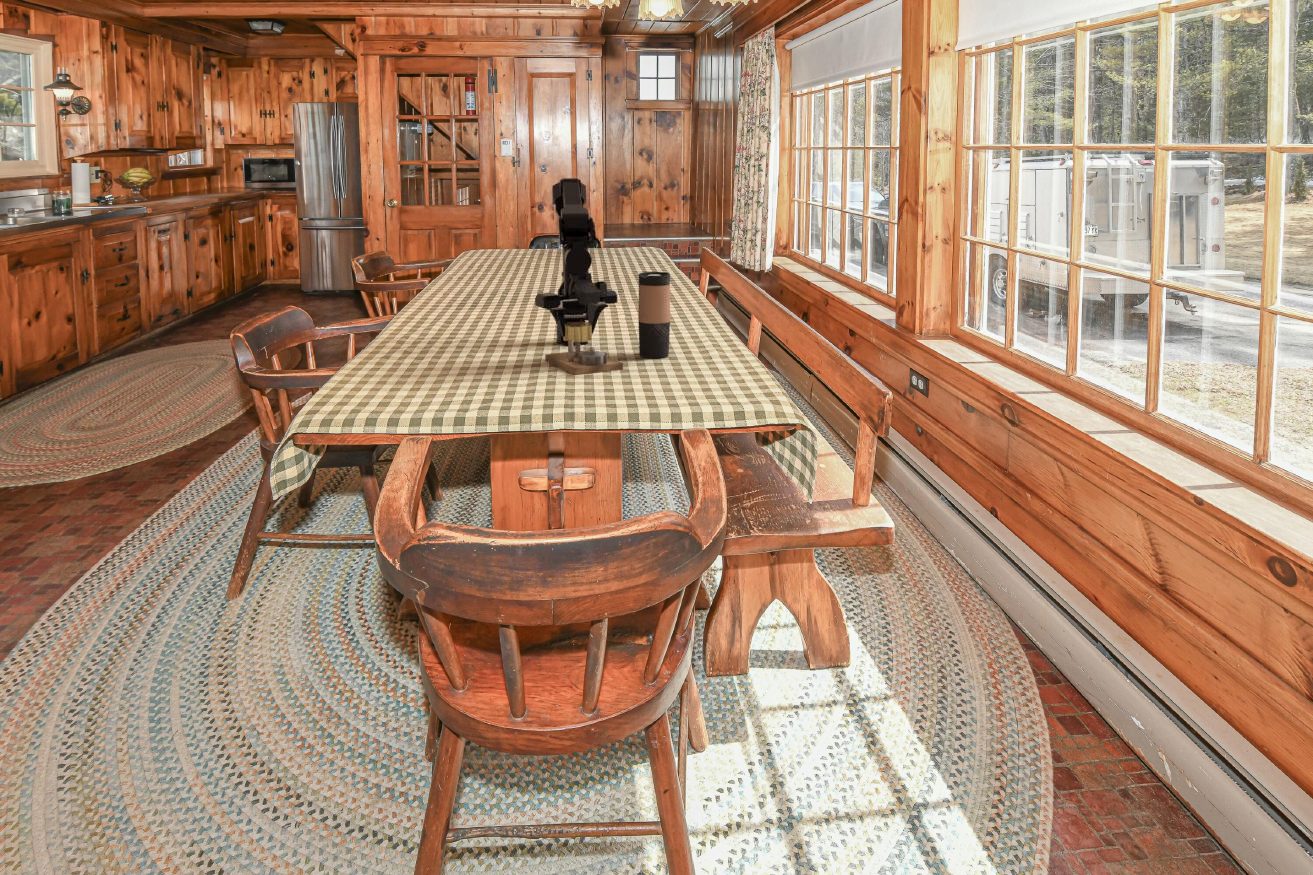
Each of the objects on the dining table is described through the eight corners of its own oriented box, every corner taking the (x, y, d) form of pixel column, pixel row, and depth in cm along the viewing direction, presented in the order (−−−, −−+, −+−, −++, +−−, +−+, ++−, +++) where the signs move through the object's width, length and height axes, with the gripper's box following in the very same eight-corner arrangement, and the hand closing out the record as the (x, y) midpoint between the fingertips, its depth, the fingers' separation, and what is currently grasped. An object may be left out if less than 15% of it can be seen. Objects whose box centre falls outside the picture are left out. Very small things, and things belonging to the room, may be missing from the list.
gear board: (590, 355, 234) (590, 329, 232) (622, 369, 220) (622, 341, 218) (545, 360, 228) (544, 333, 227) (575, 375, 214) (574, 346, 212)
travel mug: (669, 352, 238) (669, 271, 232) (670, 359, 231) (671, 275, 225) (638, 352, 238) (638, 271, 232) (638, 359, 230) (638, 275, 225)
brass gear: (584, 335, 230) (584, 321, 229) (596, 340, 224) (596, 325, 223) (558, 338, 226) (558, 323, 225) (570, 343, 221) (570, 328, 220)
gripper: (552, 274, 209) (554, 345, 214) (628, 269, 218) (628, 337, 223) (533, 269, 219) (535, 336, 223) (606, 264, 227) (607, 329, 232)
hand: (577, 335), depth 225 cm, fingers closed on brass gear, 7 cm apart
